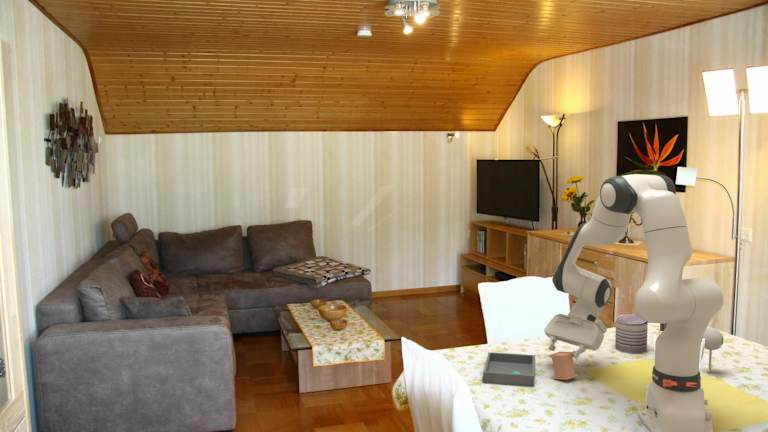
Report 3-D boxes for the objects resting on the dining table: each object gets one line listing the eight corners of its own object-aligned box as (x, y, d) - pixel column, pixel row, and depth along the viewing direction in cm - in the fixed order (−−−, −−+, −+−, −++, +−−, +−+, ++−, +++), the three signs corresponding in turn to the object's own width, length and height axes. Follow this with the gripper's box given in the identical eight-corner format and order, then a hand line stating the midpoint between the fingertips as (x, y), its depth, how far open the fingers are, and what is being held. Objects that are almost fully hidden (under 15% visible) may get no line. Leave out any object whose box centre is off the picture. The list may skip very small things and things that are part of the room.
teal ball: (518, 379, 205) (516, 370, 206) (523, 380, 203) (521, 370, 203) (510, 381, 204) (508, 372, 205) (515, 382, 201) (514, 372, 202)
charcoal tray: (534, 386, 200) (534, 376, 200) (483, 382, 204) (483, 372, 203) (535, 365, 219) (535, 355, 219) (488, 361, 223) (488, 352, 223)
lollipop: (720, 378, 204) (722, 332, 203) (696, 374, 208) (698, 329, 206) (722, 371, 210) (724, 327, 209) (698, 367, 214) (700, 324, 212)
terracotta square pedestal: (563, 374, 210) (559, 351, 210) (577, 375, 205) (573, 351, 206) (553, 378, 206) (549, 354, 207) (567, 379, 202) (563, 355, 202)
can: (652, 354, 228) (653, 321, 227) (620, 354, 228) (621, 322, 227) (640, 344, 240) (641, 313, 238) (610, 344, 240) (610, 313, 238)
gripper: (552, 307, 220) (533, 340, 215) (603, 320, 203) (583, 355, 199) (560, 317, 223) (541, 350, 218) (611, 331, 206) (592, 366, 202)
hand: (562, 353), depth 208 cm, fingers open, 8 cm apart
